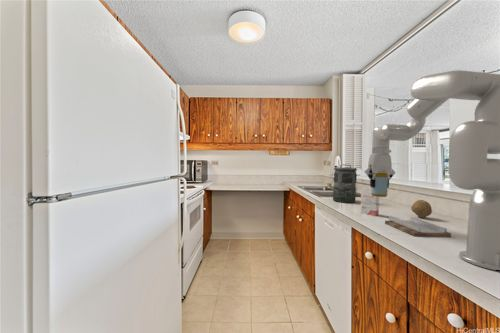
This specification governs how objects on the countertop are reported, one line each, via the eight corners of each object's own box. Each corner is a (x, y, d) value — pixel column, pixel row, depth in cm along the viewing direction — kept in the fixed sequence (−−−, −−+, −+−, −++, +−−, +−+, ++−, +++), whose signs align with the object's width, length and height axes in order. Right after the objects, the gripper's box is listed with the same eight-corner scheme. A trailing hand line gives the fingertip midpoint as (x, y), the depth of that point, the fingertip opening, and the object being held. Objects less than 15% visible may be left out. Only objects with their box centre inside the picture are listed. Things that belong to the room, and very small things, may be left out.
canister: (355, 201, 174) (357, 165, 173) (355, 204, 160) (357, 165, 159) (333, 198, 181) (335, 164, 180) (331, 201, 166) (333, 164, 166)
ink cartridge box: (378, 214, 128) (380, 189, 128) (375, 216, 125) (377, 189, 125) (363, 212, 135) (364, 187, 134) (359, 213, 132) (361, 188, 131)
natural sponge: (407, 216, 128) (407, 198, 128) (417, 215, 131) (418, 198, 131) (424, 220, 120) (425, 201, 119) (434, 219, 123) (435, 201, 122)
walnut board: (450, 236, 93) (450, 233, 93) (413, 235, 92) (413, 232, 92) (416, 224, 111) (416, 221, 111) (384, 223, 110) (385, 220, 110)
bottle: (375, 194, 119) (376, 166, 119) (389, 196, 113) (390, 166, 113) (368, 195, 115) (369, 166, 114) (383, 197, 109) (384, 166, 109)
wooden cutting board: (446, 233, 93) (447, 228, 93) (417, 232, 92) (418, 228, 92) (413, 221, 111) (413, 217, 110) (388, 220, 110) (388, 216, 110)
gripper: (391, 152, 118) (390, 187, 118) (359, 151, 117) (358, 186, 117) (402, 152, 110) (401, 188, 110) (368, 150, 110) (367, 187, 110)
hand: (379, 187), depth 114 cm, fingers closed on bottle, 6 cm apart
